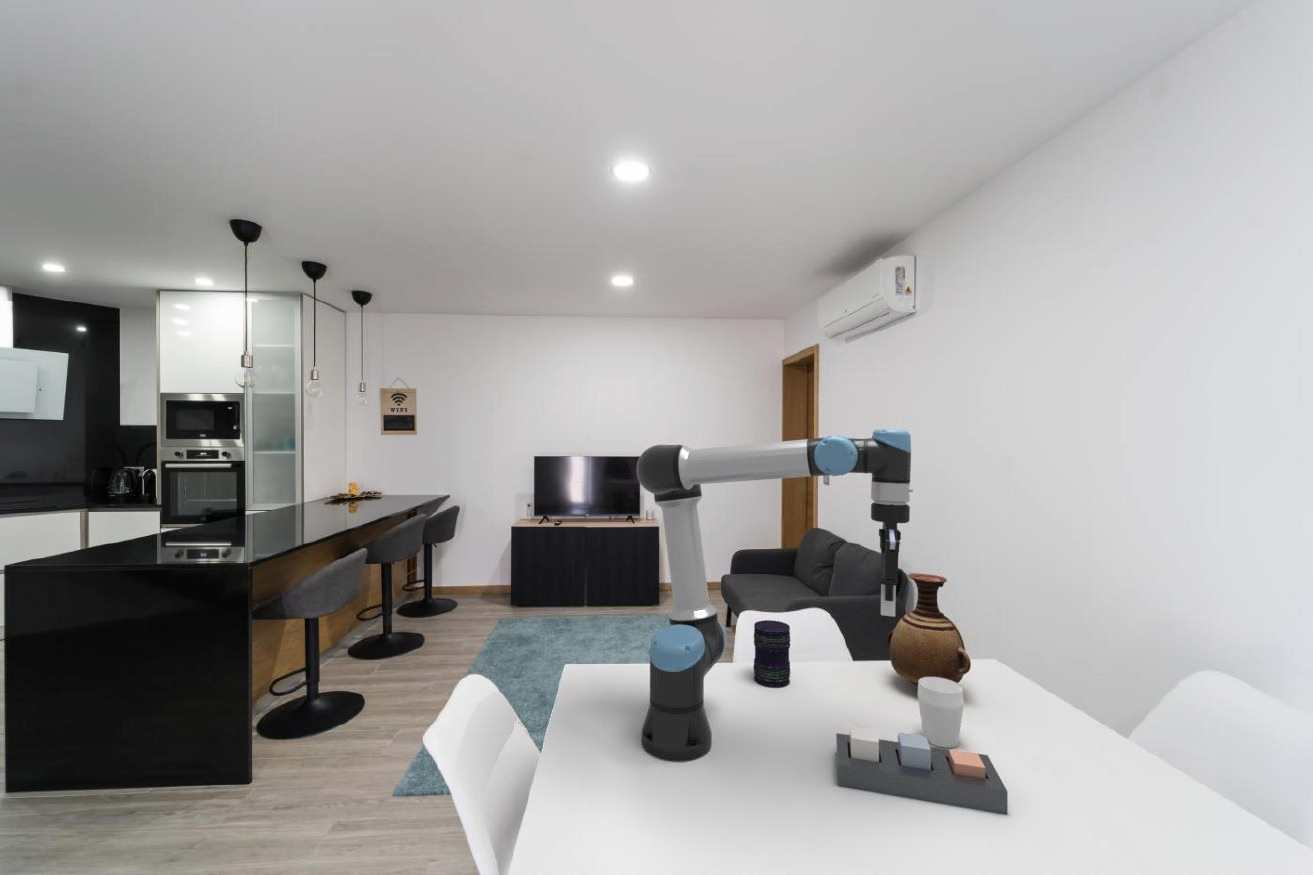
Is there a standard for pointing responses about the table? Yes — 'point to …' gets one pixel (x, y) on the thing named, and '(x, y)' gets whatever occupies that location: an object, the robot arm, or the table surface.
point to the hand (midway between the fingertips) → (887, 614)
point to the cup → (940, 710)
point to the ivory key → (864, 744)
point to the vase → (927, 638)
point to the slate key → (914, 751)
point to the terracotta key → (966, 764)
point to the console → (921, 778)
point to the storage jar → (772, 654)
